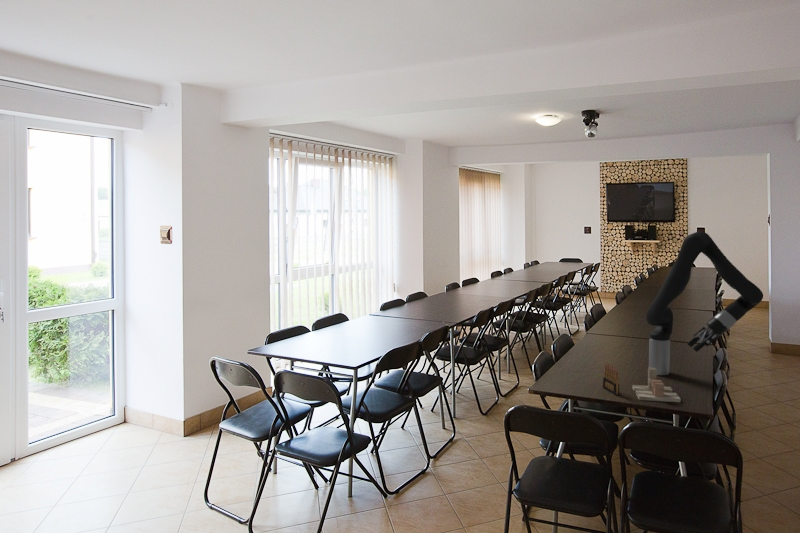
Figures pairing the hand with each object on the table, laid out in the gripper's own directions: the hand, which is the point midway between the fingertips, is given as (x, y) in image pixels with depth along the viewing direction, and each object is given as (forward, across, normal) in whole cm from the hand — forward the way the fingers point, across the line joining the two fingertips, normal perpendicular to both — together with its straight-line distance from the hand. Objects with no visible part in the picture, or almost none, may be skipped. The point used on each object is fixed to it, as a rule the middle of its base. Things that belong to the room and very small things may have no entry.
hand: (691, 347), depth 240 cm
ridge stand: (+25, +11, +3) cm, 28 cm away
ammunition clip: (+38, +5, -10) cm, 40 cm away
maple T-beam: (+25, 0, +3) cm, 26 cm away
